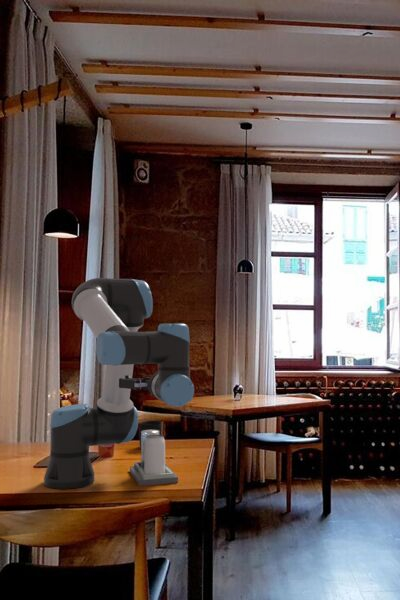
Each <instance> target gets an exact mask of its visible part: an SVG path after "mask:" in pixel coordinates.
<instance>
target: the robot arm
mask: <svg viewBox="0 0 400 600" xmlns="http://www.w3.org/2000/svg"><path fill="white" fill-rule="evenodd" d="M152 295H153V294H152V292H151V289H150V285H149V284H148V283H147V282H146V281H145V280H142V279H140V280H139V279H133V278H107V277H106V278H104V277H95V278H90V279H88V280H86V281H84V282H82V283H81V284H80V285H79V286H78V287H77V288H76V289H75V291H74V292H73V293H72V298H71V308H72V310H73V313H74V314H75V316H77V318H79V320H81V321H84V322H85V323H86V324H87V326H88V328H89V329H90V330H91V332H92V333H93V335H94V337H95V338H96V342H95V354H96V357H97V361H98V362H99V364H101V365H105V371H104V378H103V379H104V380H103V390H102V396H101V397H100V398H99V399H97V401H96V407H93V408H92V407H91V408H90V405H89V404H88V403H79V404H70V405H65V406H62V407H58V408H56V409H54V410H53V411H52V413H51V417H50V425H49V427H50V453H49V456H50V457H49V462H48V464H47V466H46V469H45V470H46V471H45V473H44V475H43V476H44V477H43V485H44V486H45V487H47V488H49V489H57V490H62V489H63V490H65V489H66V490H67V489H68V490H69V489H76V488H77V489H78V488H82V487H86V486H89V485H91V484H93V483H94V482H95V470H94V469H93V465H92V461H91V458H90V447H93V446H95V447H96V446H98V445H106V444H115V445H119V444H123V443H129V442H130V441H132V440H133V439H134V437H136V434H137V431H138V428H139V420H138V419H139V414H138V409H137V408H136V407H135V406H134V402H133V401H132V400H131V399H130V397H131V391H132V390H135V391H140V390H141V389H143V391H148V392H149V393H150V394H151V395H152V396H153V397H154V398H156V399H157V400H159V401H161V402H163V403H165V404H166V405H168V406H170V407H178V408H179V407H184V406H186V405H188V404H189V403H190V402H191V401H192V399H193V398H194V395H195V387H194V383H193V381H192V380H191V376H190V375H191V369H190V346H191V345H190V344H191V340H190V329H189V326H188V325H187V324H185V323H159V325H158V327H157V331H156V330H155V331H153V330H152V331H139V329H141V328H142V327H143V326H144V323H145V319H148V318H150V317H151V316H152V314H153V309H154V308H153V306H154V305H153V303H154V301H153V296H152ZM146 364H147V365H148V364H149V365H151V364H152V365H153V364H157V365H158V366H157V371H156V372H154V373H153V374H152V375H151V377H150V376H149V377H148V376H147V377H143V378H134V377H133V374H134V373H133V372H134V366H135V365H146Z"/></svg>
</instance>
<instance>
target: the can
mask: <svg viewBox="0 0 400 600" xmlns="http://www.w3.org/2000/svg"><path fill="white" fill-rule="evenodd" d="M165 464H166V440H165V438H164V435H147V436H146V439H145V442H144V473H145V474H146V475H152V474H164V473H165Z"/></svg>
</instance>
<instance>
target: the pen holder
mask: <svg viewBox="0 0 400 600" xmlns="http://www.w3.org/2000/svg"><path fill="white" fill-rule="evenodd" d="M162 429H163V422H162V421H160V420H149V421H145V422H144V423H142V422H138V436H139V447H140V448H141V431H143V430H159V435H162V434H163V432H162Z"/></svg>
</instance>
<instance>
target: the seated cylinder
mask: <svg viewBox="0 0 400 600" xmlns="http://www.w3.org/2000/svg"><path fill="white" fill-rule="evenodd" d="M147 435H159V430H143V431H141V449H140V453H141V454H140V462H141V468H144V442H145V439H146V436H147Z"/></svg>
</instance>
